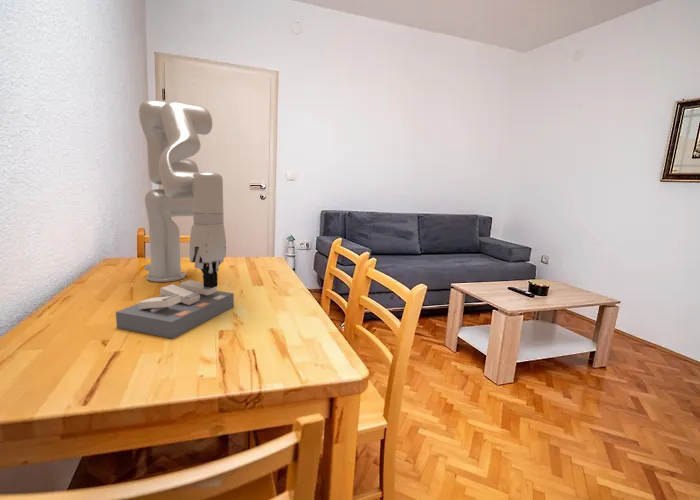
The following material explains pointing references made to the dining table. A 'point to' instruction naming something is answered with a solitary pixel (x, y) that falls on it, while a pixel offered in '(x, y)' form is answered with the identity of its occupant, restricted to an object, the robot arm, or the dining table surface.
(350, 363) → the dining table surface
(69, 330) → the dining table surface
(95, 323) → the dining table surface
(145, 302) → the rocker
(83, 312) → the dining table surface
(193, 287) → the rocker
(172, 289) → the rocker
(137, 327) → the switch unit
